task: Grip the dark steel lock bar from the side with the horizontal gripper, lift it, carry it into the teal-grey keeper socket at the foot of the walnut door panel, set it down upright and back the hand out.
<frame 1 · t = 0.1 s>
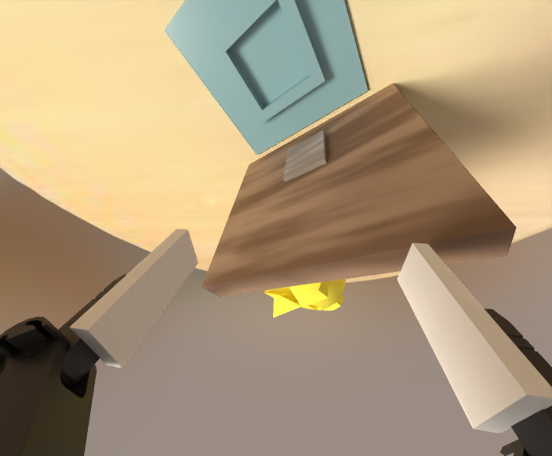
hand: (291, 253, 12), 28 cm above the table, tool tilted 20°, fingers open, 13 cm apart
piggy bank: (310, 248, 60), on the table
door panel: (311, 139, 34), on the table
keeper socket: (270, 60, 27), on the table
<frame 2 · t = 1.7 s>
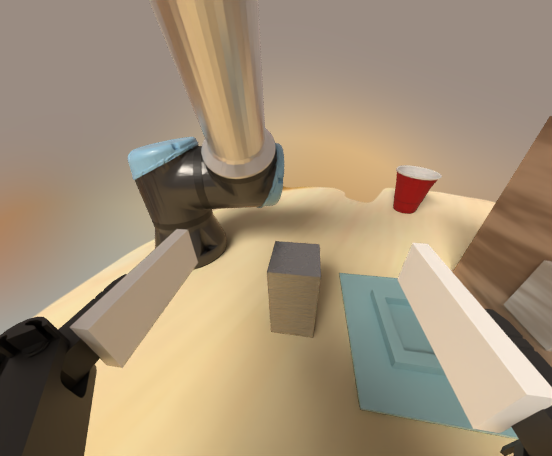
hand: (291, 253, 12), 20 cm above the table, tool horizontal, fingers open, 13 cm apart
lock bar: (293, 315, 31), on the table
plastic cup: (404, 210, 60), on the table
door panel: (522, 344, 26), on the table
keeper socket: (419, 332, 28), on the table
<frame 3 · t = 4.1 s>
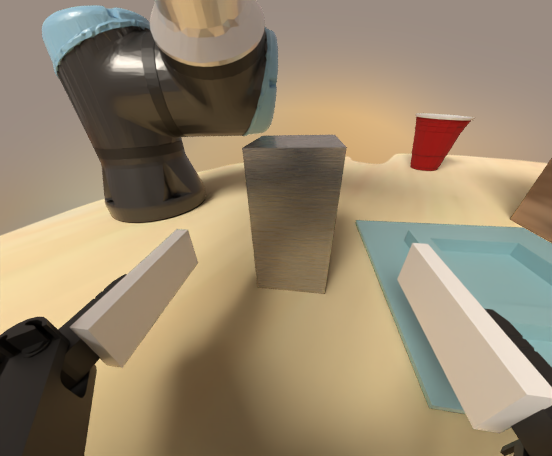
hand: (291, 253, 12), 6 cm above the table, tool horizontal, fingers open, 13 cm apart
lock bar: (292, 267, 20), on the table
plastic cup: (424, 168, 50), on the table
keeper socket: (494, 283, 18), on the table
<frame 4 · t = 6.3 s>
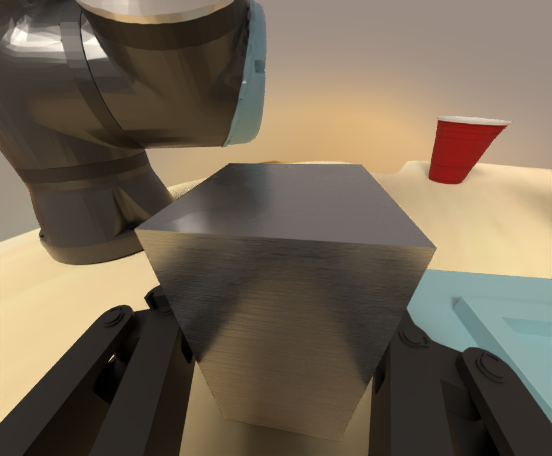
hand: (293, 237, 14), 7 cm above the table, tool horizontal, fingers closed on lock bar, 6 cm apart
lock bar: (285, 365, 13), on the table, touching gripper
plastic cup: (445, 180, 42), on the table
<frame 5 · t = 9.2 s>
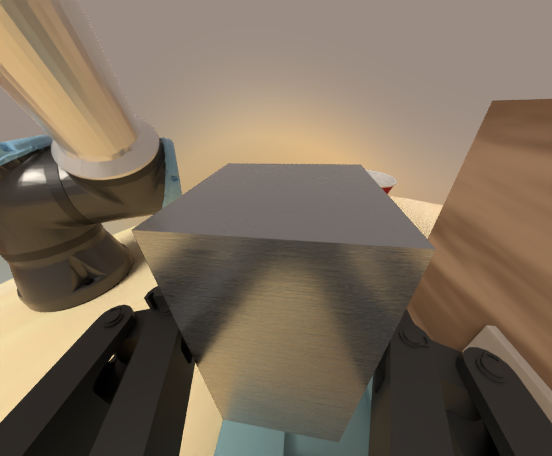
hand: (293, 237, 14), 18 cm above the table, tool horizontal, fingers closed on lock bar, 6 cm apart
lock bar: (284, 365, 13), point 12 cm above the table, touching gripper
plastic cup: (361, 220, 52), on the table
door panel: (466, 435, 18), on the table
keeper socket: (326, 414, 19), on the table
when the fingers open (8 cm above the table, at t = 12.3 s): lock bar drops 1 cm, resting on keeper socket.
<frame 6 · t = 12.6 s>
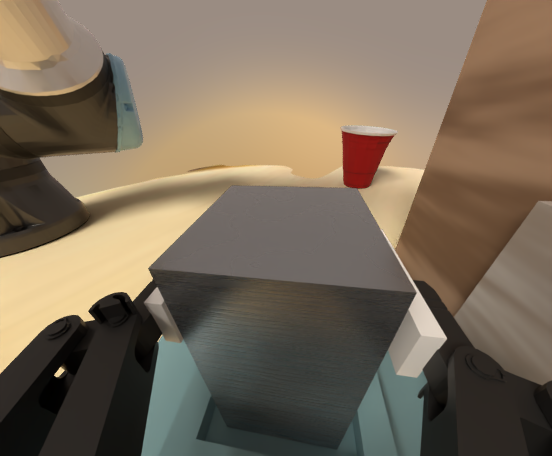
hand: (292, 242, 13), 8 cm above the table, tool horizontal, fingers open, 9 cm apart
lock bar: (285, 374, 13), resting on keeper socket
plastic cup: (357, 185, 46), on the table
door panel: (494, 407, 12), on the table
keeper socket: (285, 375, 13), on the table
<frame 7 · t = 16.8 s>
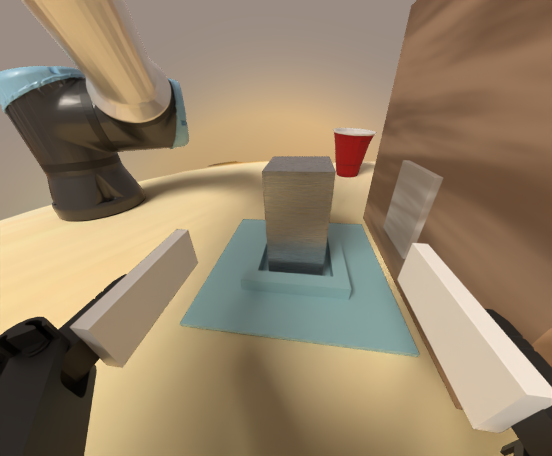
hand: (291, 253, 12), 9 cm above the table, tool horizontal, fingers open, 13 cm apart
lock bar: (296, 260, 25), resting on keeper socket
plastic cup: (347, 175, 58), on the table
door panel: (401, 269, 23), on the table
keeper socket: (296, 262, 25), on the table
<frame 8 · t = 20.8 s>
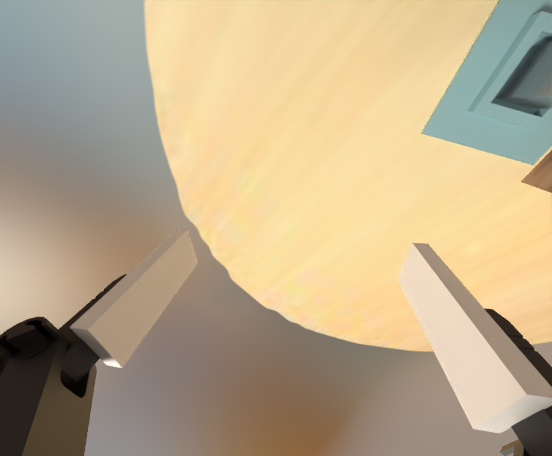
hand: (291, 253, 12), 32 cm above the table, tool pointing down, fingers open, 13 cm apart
lock bar: (531, 79, 29), resting on keeper socket
keeper socket: (529, 79, 29), on the table
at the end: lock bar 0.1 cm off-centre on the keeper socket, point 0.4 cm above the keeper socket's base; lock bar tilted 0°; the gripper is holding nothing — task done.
